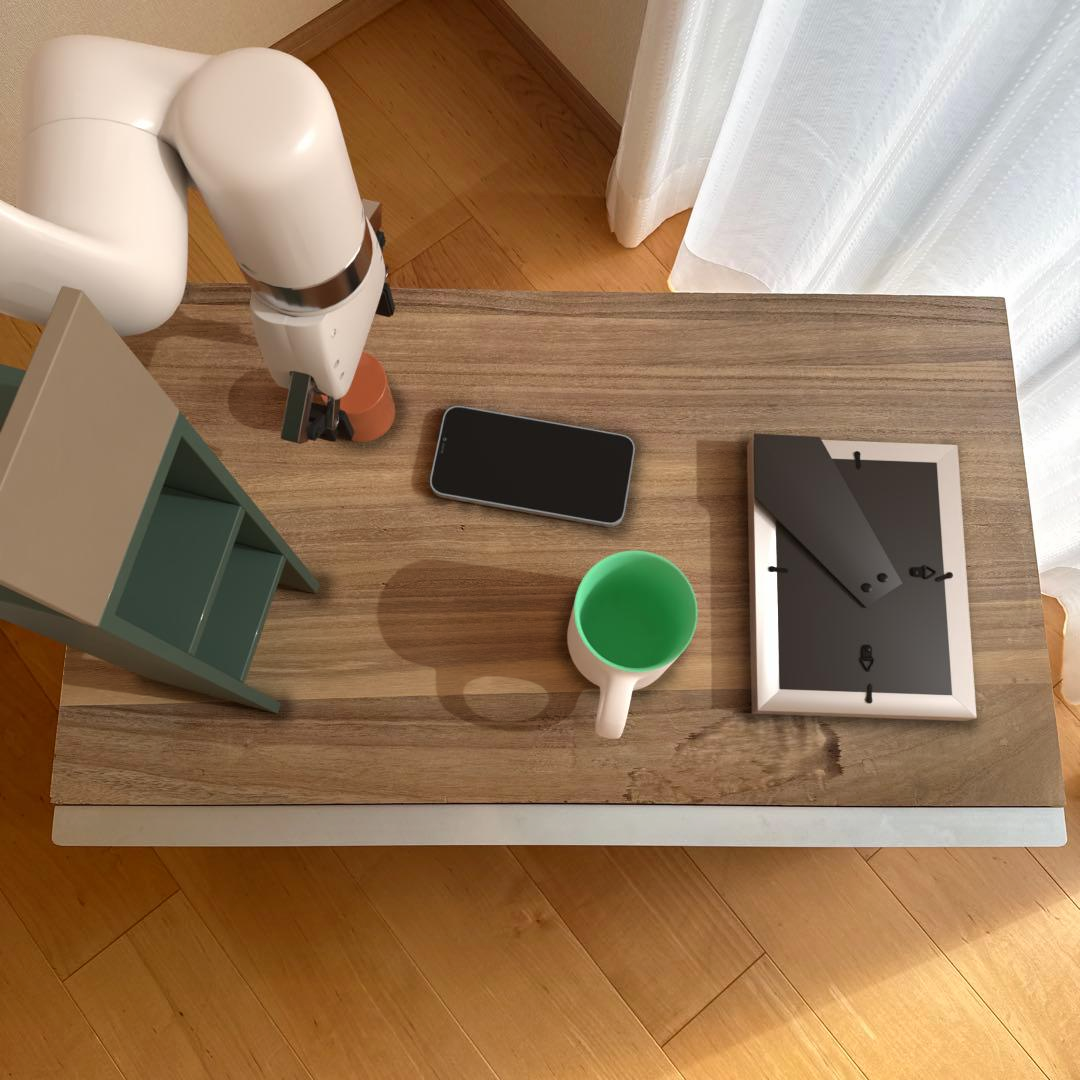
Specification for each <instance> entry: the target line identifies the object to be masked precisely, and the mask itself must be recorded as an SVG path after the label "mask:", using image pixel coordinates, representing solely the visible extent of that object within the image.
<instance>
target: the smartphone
mask: <svg viewBox="0 0 1080 1080" xmlns="http://www.w3.org/2000/svg"><path fill="white" fill-rule="evenodd" d="M437 439H438V440H437V444H436V449H435V454H434V458H433V463H432V468H431V472H430V477H429V483H430V484H429V485H430V488H431V491H432V492H433V494H434V495H435V496H437V497H439V498H444V499H449V500H454V501H459V502H465V503H471V504H475V505H483V506H487V507H493V508H499V509H505V510H511V511H516V512H521V513H528V514H533V515H537V516H538V515H539V516H543V517H550V518H553V519H554V518H555V519H561V520H567V521H571V522H578V523H584V524H589V525H594V526H600V527H605V528H606V527H607V528H614V527H615V526H618V525H619V524H620V523H622V521H623V519H624V516H625V512H626V507H627V503H628V502H627V500H628V495H629V489H630V482H631V478H632V477H631V476H632V472H633V465H634V464H633V463H634V458H635V452H636V446H635V443H634V441H633V440H632V439H631V437H629V436H627V435H626V434H621V433H616V432H612V431H611V432H610V431H604V430H599V429H594V428H588V427H582V426H577V425H572V424H565V423H559V422H554V421H549V420H542V419H537V418H531V417H526V416H521V415H514V414H509V413H503V412H497V411H492V410H487V409H486V410H485V409H480V408H475V407H469V406H464V405H454V406H451V407H449V408H448V409H446V411H445V412H444V414H443V417H442V421H441V426H440V429H439V435H438V438H437Z"/></svg>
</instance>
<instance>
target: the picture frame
mask: <svg viewBox="0 0 1080 1080" xmlns="http://www.w3.org/2000/svg"><path fill="white" fill-rule="evenodd" d="M958 446H959V445H958V444H947V443H945V444H944V443H918V442H893V441H869V440H868V441H867V440H841V439H840V440H839V439H822V438H821V437H820V436H811V435H810V436H809V435H793V434H792V435H791V434H770V433H754V434H753V436H752V437H751V438H750V440H749V442H748V443H747V445H746V468H747V470H746V471H747V473H746V475H747V521H748V522H747V523H748V524H747V525H748V527H747V528H748V529H747V530H748V577H749V578H748V581H749V582H748V583H749V585H748V586H749V589H748V590H749V635H750V636H749V641H750V643H749V644H750V694H751V695H750V696H751V697H750V699H751V703H750V704H751V714H752V715H753V714H754V715H780V716H782V715H783V716H784V715H785V716H809V717H836V718H837V717H838V718H839V717H840V718H868V719H870V718H871V719H893V720H897V719H898V720H924V721H925V720H926V721H951V722H952V721H953V722H956V721H957V722H967V721H971V720H975V719H978V717H977V716H978V715H977V704H976V703H977V702H976V688H975V675H974V660H973V645H972V632H971V616H970V601H969V589H968V588H969V587H968V576H967V561H966V546H965V532H964V531H965V530H964V517H963V503H962V501H963V500H962V489H961V474H960V473H961V472H960V460H959V459H960V458H959V447H958Z"/></svg>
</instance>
